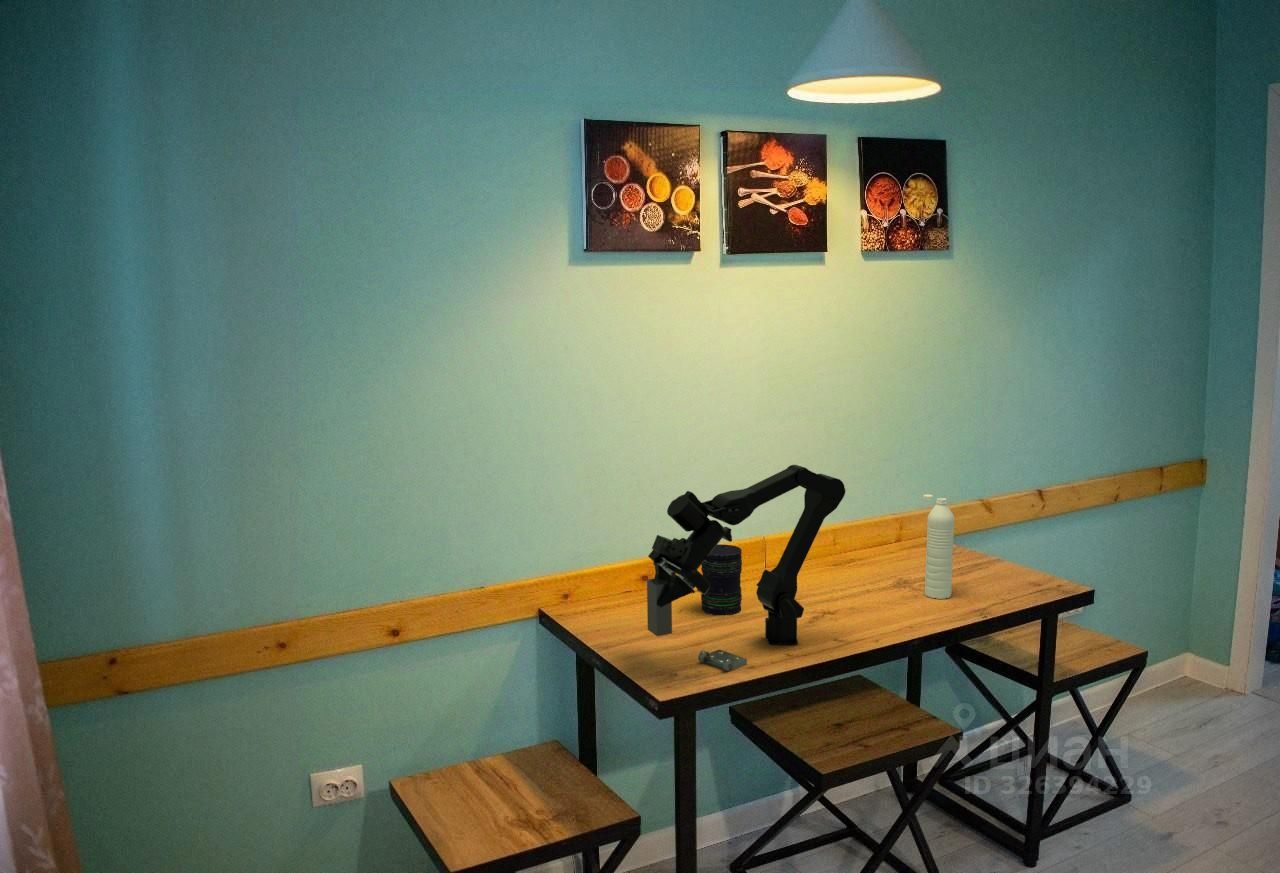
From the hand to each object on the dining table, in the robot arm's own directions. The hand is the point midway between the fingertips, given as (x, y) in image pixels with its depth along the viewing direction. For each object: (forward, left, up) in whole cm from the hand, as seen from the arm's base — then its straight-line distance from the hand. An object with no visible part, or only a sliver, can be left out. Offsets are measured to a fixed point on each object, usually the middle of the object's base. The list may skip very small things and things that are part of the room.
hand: (653, 602), depth 225 cm
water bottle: (-69, -49, -14) cm, 86 cm away
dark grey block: (-1, -1, -7) cm, 7 cm away
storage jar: (-15, -36, -14) cm, 41 cm away
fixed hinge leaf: (-14, 0, -13) cm, 20 cm away
